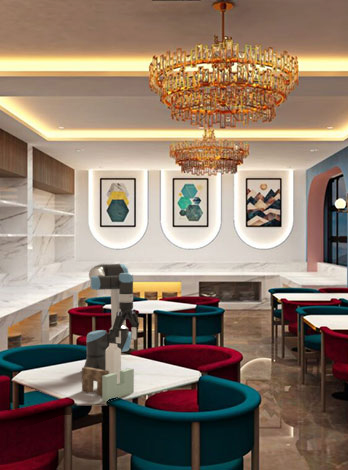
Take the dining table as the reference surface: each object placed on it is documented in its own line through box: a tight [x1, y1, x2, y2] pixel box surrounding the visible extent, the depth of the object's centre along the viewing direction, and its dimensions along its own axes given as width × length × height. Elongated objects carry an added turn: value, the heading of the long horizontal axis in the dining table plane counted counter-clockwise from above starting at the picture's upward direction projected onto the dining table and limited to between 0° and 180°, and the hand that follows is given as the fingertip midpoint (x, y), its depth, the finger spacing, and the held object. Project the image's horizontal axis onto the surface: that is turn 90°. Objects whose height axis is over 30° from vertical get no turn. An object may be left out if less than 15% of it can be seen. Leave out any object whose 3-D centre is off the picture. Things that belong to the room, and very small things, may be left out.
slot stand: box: [101, 367, 135, 403], centre depth 271 cm, size 20×3×12 cm, turn 144°
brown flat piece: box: [81, 366, 109, 396], centre depth 277 cm, size 16×3×12 cm, turn 54°
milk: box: [106, 343, 122, 384], centre depth 294 cm, size 6×6×22 cm
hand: (126, 341), depth 293 cm, fingers open, 13 cm apart
